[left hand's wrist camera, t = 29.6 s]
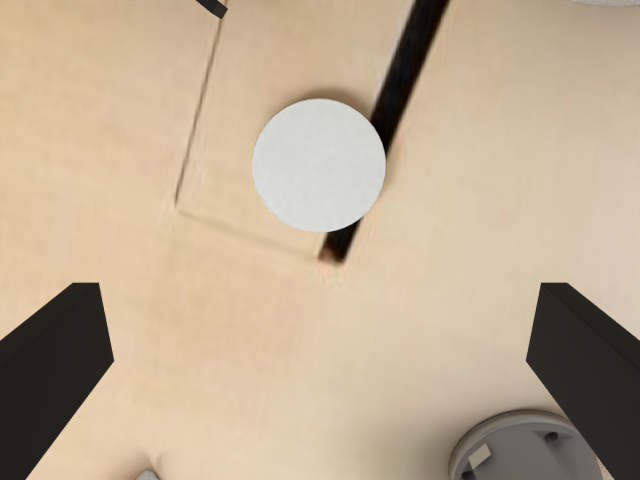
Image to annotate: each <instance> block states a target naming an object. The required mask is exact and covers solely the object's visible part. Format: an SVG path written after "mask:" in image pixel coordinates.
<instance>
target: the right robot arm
mask: <svg viewBox="0 0 640 480" xmlns="http://www.w3.org/2000/svg"><path fill="white" fill-rule="evenodd" d="M196 1H197V2H199V3H200V4H201V5H202V6H204V7H205V8H206V9H207V10H208V11H210V12H211V13H212V14H214V15H216V16H217V17H219V18H220V19H222V18H223V16H224V14H225V13H226V11H227V10H228V9H227V8H226V7H225V6H224V5H223V4H221V3H220V2H219V1H218V0H196Z"/></svg>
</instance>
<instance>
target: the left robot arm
mask: <svg viewBox="0 0 640 480" xmlns="http://www.w3.org/2000/svg"><path fill="white" fill-rule="evenodd" d="M113 362H114V357H113V352H112V347H111V342H110V337H109V332H108V327H107V322H106V317H105V312H104V307H103V302H102V297H101V291H100V286H99V283H72V284H71V285H69V286H68V287H67V288H66V289H64V290H63V291H62V292H61V293H59V294H58V295H57V296H56V297H54V298H53V299H52V300H51V301H49V302H48V303H47V304H46V305H44V306H43V307H42V308H41V309H39V310H38V311H37V312H36V313H34V314H33V315H32V316H31V317H29V318H28V319H27V320H26V321H24V322H23V323H22V324H21V325H19V326H18V327H17V328H16V329H14V330H13V331H12V332H11V333H9V334H8V335H7V336H5V337H4V338H3V339H2V340H0V480H26V478H27V477H28V476H29V474H30V473H31V472H32V470H33V469H34V468H35V466H36V465H37V464H38V462H39V461H40V460H41V458H42V457H43V456H44V454H45V453H46V452H47V450H48V449H49V448H50V446H51V445H52V443H53V442H54V441H55V439H56V438H57V437H58V435H59V434H60V433H61V431H62V430H63V429H64V427H65V426H66V425H67V423H68V422H69V421H70V419H71V418H72V417H73V415H74V414H75V413H76V411H77V410H78V409H79V407H80V406H81V405H82V403H83V402H84V401H85V399H86V398H87V397H88V395H89V394H90V393H91V391H92V390H93V389H94V387H95V386H96V385H97V383H98V382H99V381H100V379H101V378H102V377H103V375H104V374H105V373H106V371H107V370H108V369H109V367H110V366H111V365H112V363H113ZM526 362H527V363H528V365H529V366H530V367H531V369H532V370H533V371H534V373H535V374H536V375H537V377H538V378H539V379H540V381H541V382H542V383H543V385H544V386H545V387H546V389H547V390H548V391H549V393H550V394H551V395H552V397H553V398H554V399H555V401H556V402H557V403H558V405H559V406H560V407H561V409H562V410H563V411H564V413H565V414H566V415H567V417H568V418H569V419H570V421H571V422H572V423H573V424H572V423H571V422H569V421H568V420H566V419H565V418H563V417H561V416H558V415H556V414H552V413H549V412H544V411H534V410H525V411H515V412H510V413H505V414H502V415H499V416H496V417H493V418H491V419H489V420H487V421H485V422H483V423H481V424H479V425H478V426H476V427H475V428H473V429H472V430H471V431H470V432H468V433H467V434H466V435H465V436H464V437H463V438H462V439H461V441H460V442H459V443H458V445H457V446H456V448H455V449H454V451H453V454H452V456H451V459H450V463H449V477H450V480H603V478H602V474H601V471H600V468H599V465H598V462H597V459H596V456H597V457H598V458H599V460H600V461H601V462H602V464H603V465H604V466H605V468H606V469H607V470H608V472H609V473H610V474H611V476H612V477H613V478H614V480H640V340H638V339H637V338H636V337H635V336H633V335H632V334H631V333H629V332H628V331H627V330H626V329H624V328H623V327H622V326H621V325H619V324H618V323H617V322H616V321H614V320H613V319H612V318H611V317H609V316H608V315H607V314H606V313H604V312H603V311H602V310H601V309H599V308H598V307H597V306H596V305H594V304H593V303H592V302H591V301H589V300H588V299H587V298H586V297H584V296H583V295H582V294H581V293H579V292H578V291H577V290H576V289H574V288H573V287H572V286H571V285H569V284H568V283H541V286H540V291H539V297H538V302H537V307H536V312H535V317H534V322H533V327H532V332H531V337H530V342H529V347H528V352H527V357H526ZM594 453H595V454H596V456H595V454H594Z"/></svg>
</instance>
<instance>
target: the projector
mask: <svg viewBox="0 0 640 480" xmlns="http://www.w3.org/2000/svg"><path fill="white" fill-rule="evenodd" d="M569 1H572V2H577V3H582V4H590V5H599V6H634V5H640V0H569Z"/></svg>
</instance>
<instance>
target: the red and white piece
mask: <svg viewBox="0 0 640 480" xmlns="http://www.w3.org/2000/svg"><path fill="white" fill-rule="evenodd" d="M135 480H159V479H158V477H157V476H156V475H155V474H154V473H153V472H152V471H150V470H144V471H143V472H142V473H141V474H140V475H139V476H137V477H136V479H135Z"/></svg>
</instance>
